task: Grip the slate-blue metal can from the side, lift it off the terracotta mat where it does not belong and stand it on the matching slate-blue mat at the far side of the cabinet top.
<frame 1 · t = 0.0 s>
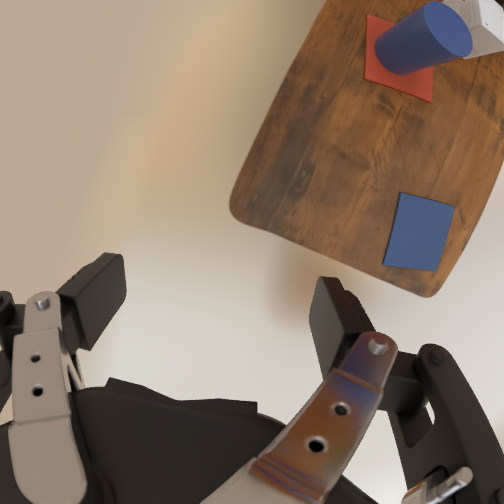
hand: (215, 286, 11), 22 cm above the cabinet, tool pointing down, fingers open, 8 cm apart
small box: (449, 31, 21), on the cabinet
terracotta mat: (400, 57, 24), on the cabinet
blue can: (395, 53, 23), resting on terracotta mat
blue mat: (420, 234, 33), on the cabinet
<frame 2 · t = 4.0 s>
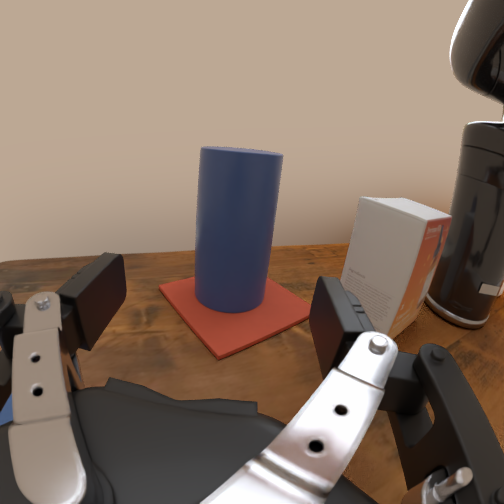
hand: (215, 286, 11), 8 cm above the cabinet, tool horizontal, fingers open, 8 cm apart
small box: (376, 321, 23), on the cabinet
terracotta mat: (235, 302, 23), on the cabinet
blue can: (229, 293, 24), resting on terracotta mat
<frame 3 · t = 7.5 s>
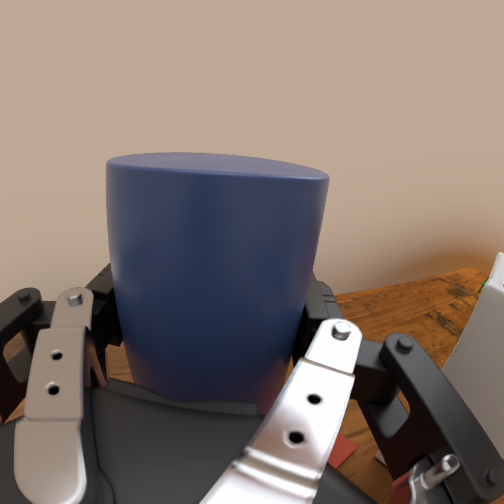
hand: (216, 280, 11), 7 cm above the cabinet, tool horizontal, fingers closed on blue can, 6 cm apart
small box: (435, 441, 10), on the cabinet
terracotta mat: (218, 439, 11), on the cabinet
blue can: (207, 422, 12), resting on terracotta mat, touching gripper
when the fingers open (7 cm above the cabinet, at t = 16.3 s): blue can stays where it is, resting on blue mat.
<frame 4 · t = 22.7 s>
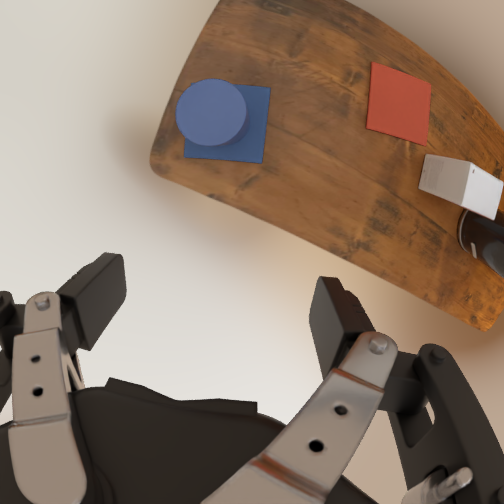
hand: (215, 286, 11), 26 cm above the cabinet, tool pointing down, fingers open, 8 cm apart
small box: (439, 178, 34), on the cabinet
terracotta mat: (400, 104, 30), on the cabinet
blue can: (225, 121, 31), resting on blue mat
blue mat: (226, 121, 32), on the cabinet
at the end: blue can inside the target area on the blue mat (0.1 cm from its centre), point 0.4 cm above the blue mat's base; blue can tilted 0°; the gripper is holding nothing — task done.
